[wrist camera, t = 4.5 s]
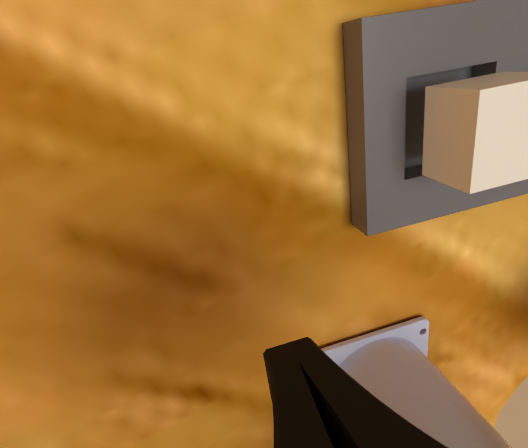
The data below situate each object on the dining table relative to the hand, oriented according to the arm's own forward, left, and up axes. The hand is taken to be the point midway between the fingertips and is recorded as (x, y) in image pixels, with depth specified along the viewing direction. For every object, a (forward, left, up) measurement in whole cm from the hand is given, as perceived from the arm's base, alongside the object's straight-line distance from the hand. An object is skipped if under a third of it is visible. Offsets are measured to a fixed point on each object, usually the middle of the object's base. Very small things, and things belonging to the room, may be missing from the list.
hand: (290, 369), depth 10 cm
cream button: (+4, -11, -7) cm, 14 cm away
